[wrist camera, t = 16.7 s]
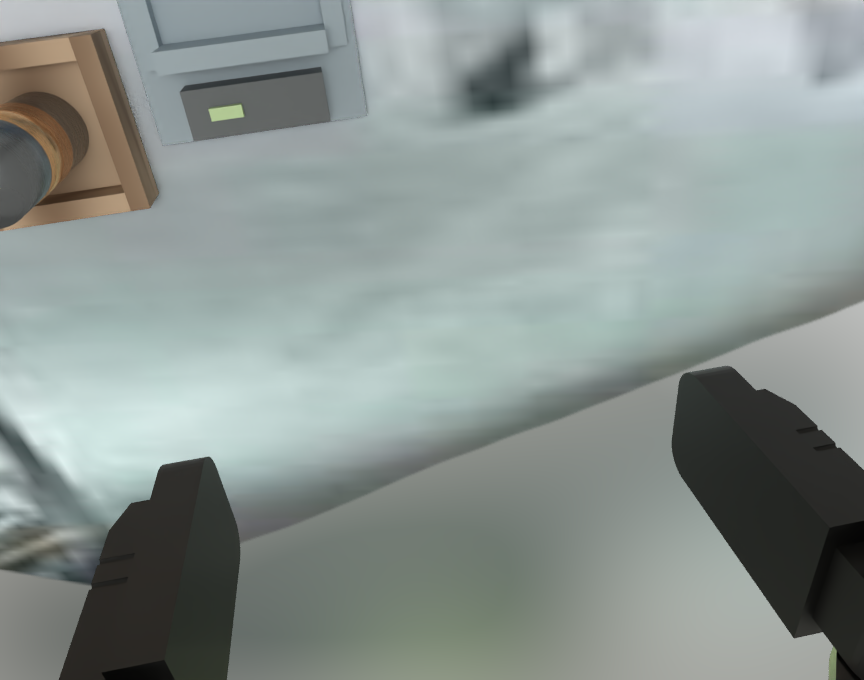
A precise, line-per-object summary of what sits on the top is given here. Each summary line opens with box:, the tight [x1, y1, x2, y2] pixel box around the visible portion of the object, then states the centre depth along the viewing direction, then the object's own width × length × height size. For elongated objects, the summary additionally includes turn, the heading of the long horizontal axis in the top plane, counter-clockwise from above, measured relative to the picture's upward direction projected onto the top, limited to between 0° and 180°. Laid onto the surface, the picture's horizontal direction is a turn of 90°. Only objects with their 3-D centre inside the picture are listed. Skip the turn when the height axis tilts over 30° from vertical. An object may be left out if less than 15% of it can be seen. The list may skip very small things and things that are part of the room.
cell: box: [0, 91, 89, 229], centre depth 30 cm, size 4×4×9 cm
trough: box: [0, 29, 159, 231], centre depth 34 cm, size 8×8×2 cm
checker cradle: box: [117, 0, 367, 146], centre depth 32 cm, size 11×12×4 cm
